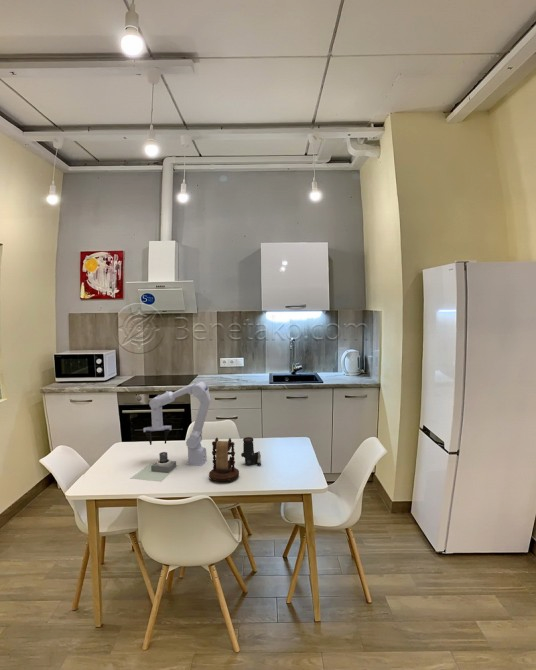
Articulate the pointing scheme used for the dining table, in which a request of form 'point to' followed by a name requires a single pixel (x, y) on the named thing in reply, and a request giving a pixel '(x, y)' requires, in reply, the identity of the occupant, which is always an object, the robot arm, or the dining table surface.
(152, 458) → the dining table surface
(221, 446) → the scroll
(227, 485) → the dining table surface
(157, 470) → the camera body
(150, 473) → the mat
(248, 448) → the scope
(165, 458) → the lens
